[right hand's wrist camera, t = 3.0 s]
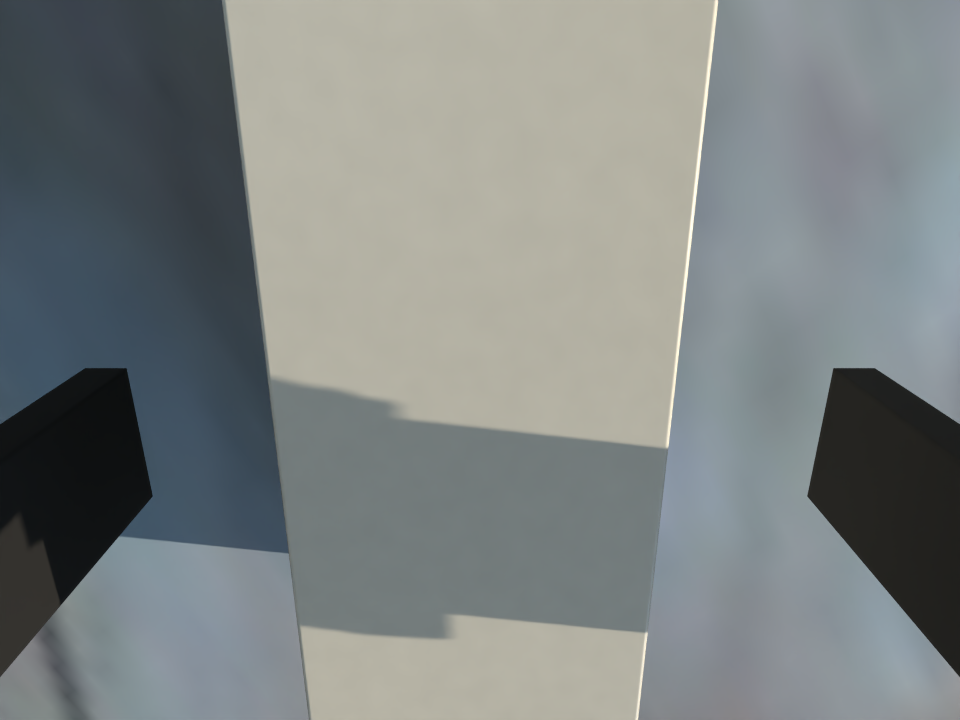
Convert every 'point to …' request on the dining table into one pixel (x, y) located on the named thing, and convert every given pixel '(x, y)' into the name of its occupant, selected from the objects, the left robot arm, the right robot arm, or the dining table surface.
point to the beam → (471, 335)
